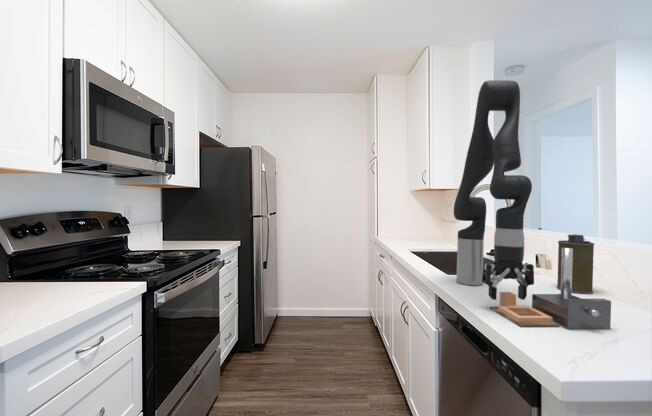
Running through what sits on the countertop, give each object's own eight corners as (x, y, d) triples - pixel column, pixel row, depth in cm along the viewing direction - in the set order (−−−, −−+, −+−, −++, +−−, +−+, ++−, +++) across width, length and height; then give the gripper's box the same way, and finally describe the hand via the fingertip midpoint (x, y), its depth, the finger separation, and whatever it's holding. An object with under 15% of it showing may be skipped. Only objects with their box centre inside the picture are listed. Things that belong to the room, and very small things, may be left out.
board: (489, 308, 95) (489, 306, 95) (522, 308, 95) (522, 306, 95) (520, 327, 81) (520, 324, 81) (559, 326, 81) (559, 324, 81)
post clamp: (531, 311, 93) (533, 245, 93) (568, 311, 93) (570, 245, 93) (574, 332, 78) (576, 254, 78) (617, 332, 79) (620, 254, 78)
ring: (489, 305, 96) (490, 291, 96) (519, 305, 96) (519, 292, 96) (518, 322, 83) (518, 306, 82) (552, 322, 83) (553, 306, 83)
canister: (578, 295, 111) (579, 236, 110) (549, 287, 121) (551, 233, 120) (601, 293, 113) (603, 236, 113) (571, 285, 123) (573, 233, 123)
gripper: (523, 242, 98) (522, 295, 99) (478, 242, 98) (476, 295, 98) (541, 245, 91) (539, 303, 91) (492, 245, 90) (490, 303, 91)
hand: (507, 299), depth 95 cm, fingers open, 8 cm apart
